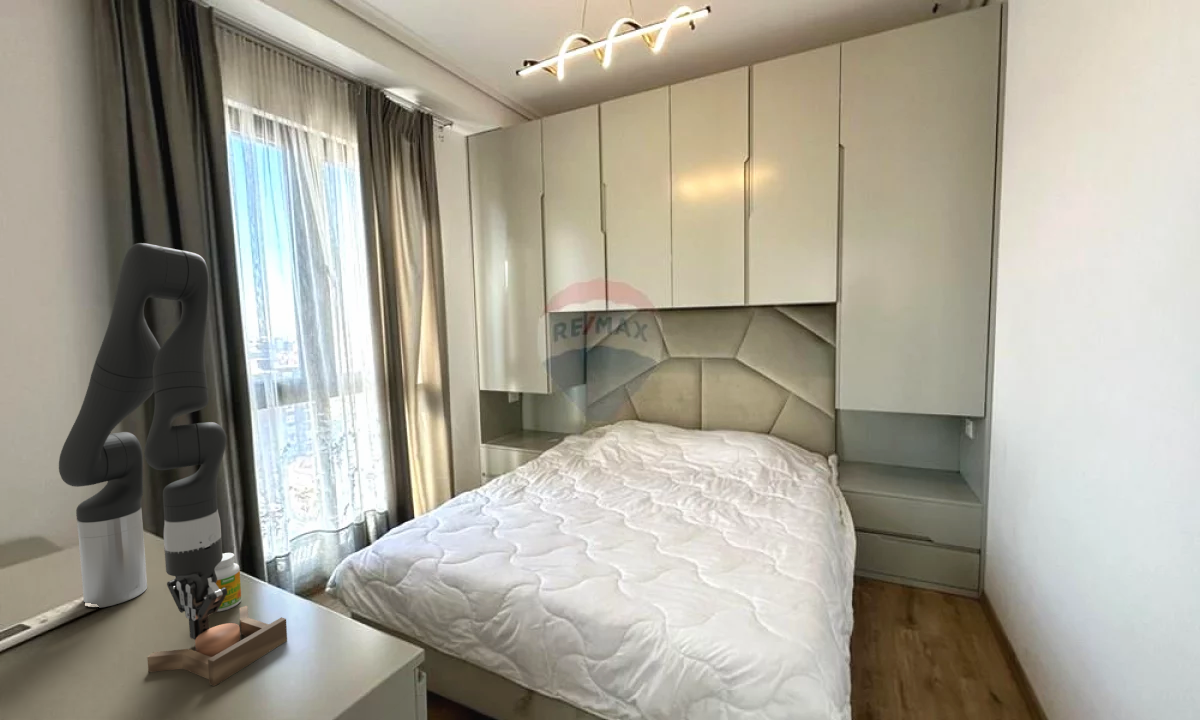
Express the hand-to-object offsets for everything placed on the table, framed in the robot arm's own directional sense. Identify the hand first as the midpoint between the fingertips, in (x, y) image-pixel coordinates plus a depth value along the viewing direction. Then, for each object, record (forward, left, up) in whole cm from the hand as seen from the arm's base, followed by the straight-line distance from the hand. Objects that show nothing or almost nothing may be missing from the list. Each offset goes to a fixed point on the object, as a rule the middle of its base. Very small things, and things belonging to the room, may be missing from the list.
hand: (200, 636), depth 85 cm
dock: (+7, 0, -1) cm, 7 cm away
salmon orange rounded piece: (+5, 0, -1) cm, 5 cm away
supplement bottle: (-8, +9, -1) cm, 12 cm away
